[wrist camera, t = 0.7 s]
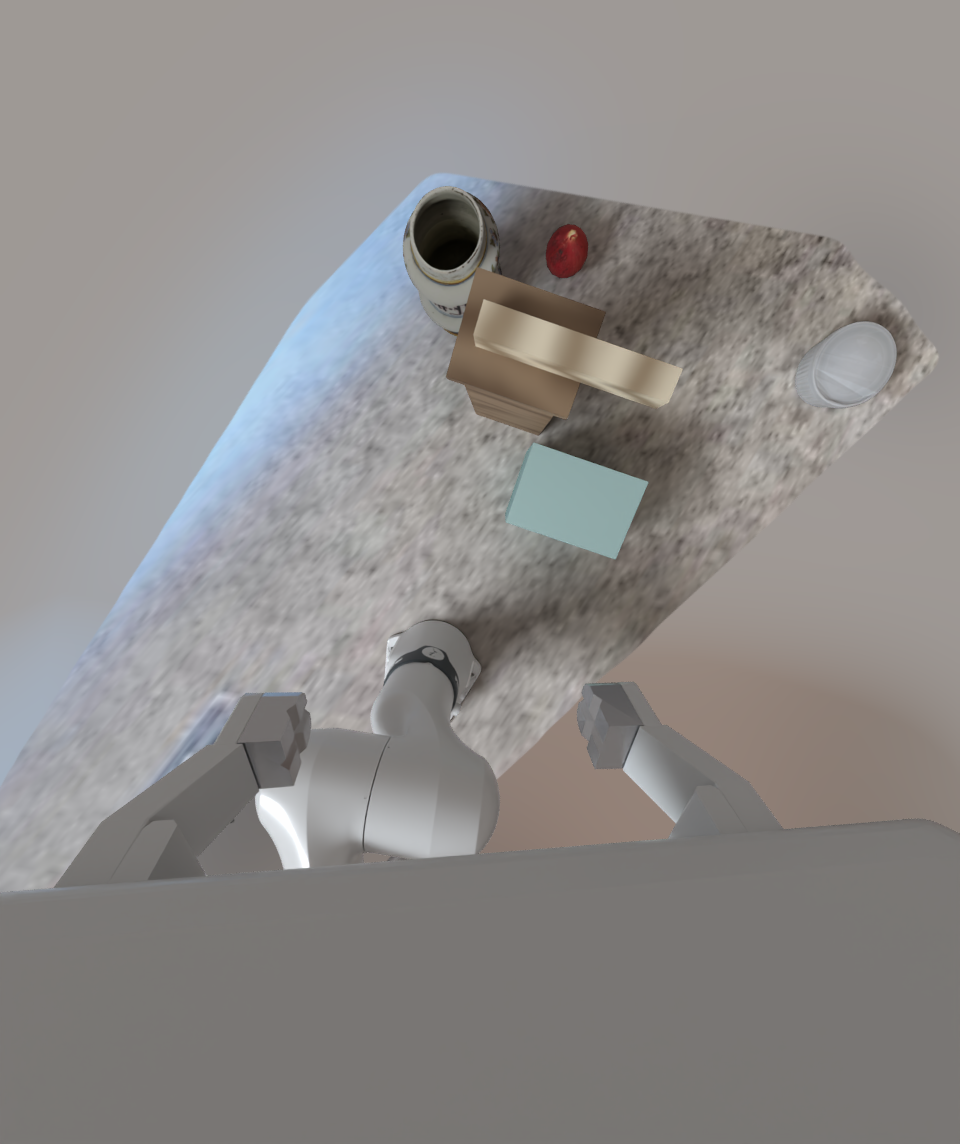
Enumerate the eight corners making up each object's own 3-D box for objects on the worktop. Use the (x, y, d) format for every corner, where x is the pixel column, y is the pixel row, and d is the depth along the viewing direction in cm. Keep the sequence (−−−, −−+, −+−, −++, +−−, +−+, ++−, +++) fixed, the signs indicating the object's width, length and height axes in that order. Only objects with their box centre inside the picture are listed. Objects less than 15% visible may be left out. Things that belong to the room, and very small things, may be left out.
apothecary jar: (410, 295, 60) (372, 219, 43) (470, 239, 58) (456, 134, 40) (457, 361, 62) (439, 314, 44) (517, 309, 60) (523, 238, 42)
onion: (558, 297, 59) (567, 268, 51) (535, 264, 58) (540, 231, 50) (589, 268, 58) (603, 235, 50) (566, 234, 57) (576, 195, 49)
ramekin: (786, 419, 61) (812, 414, 56) (786, 343, 59) (813, 330, 54) (862, 405, 60) (895, 398, 55) (864, 327, 58) (900, 312, 53)
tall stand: (542, 443, 64) (567, 418, 39) (468, 418, 64) (446, 376, 39) (563, 381, 62) (605, 312, 36) (487, 355, 61) (476, 266, 36)
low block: (591, 542, 67) (615, 559, 53) (505, 513, 67) (505, 522, 53) (615, 481, 65) (648, 481, 50) (526, 451, 64) (533, 442, 50)
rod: (668, 377, 37) (682, 368, 34) (655, 408, 38) (668, 402, 35) (485, 313, 37) (483, 299, 34) (475, 346, 38) (473, 334, 35)
